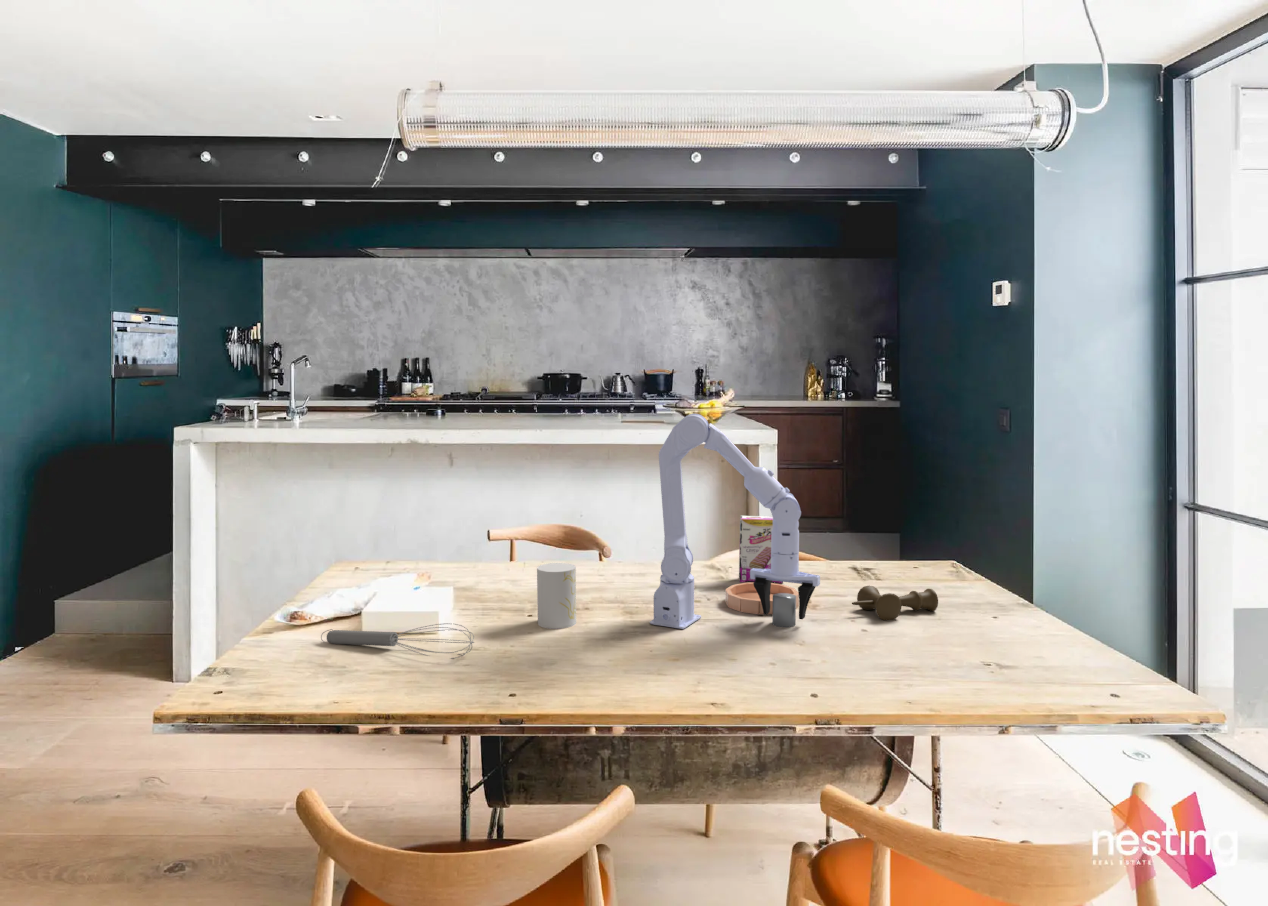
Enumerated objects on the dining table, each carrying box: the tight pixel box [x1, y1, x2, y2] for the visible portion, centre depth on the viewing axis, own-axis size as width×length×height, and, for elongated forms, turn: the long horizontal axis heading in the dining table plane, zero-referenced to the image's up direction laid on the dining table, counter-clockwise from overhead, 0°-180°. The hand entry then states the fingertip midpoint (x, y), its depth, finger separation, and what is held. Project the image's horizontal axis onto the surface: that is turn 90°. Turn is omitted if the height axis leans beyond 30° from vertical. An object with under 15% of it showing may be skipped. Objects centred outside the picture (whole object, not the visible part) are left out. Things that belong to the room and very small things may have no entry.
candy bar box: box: [738, 515, 784, 584], centre depth 209 cm, size 11×5×16 cm, turn 84°
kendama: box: [851, 585, 939, 621], centre depth 182 cm, size 6×10×20 cm
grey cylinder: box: [771, 593, 797, 628], centre depth 174 cm, size 5×5×6 cm
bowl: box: [724, 582, 799, 615], centre depth 189 cm, size 16×16×3 cm
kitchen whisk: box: [320, 622, 475, 660], centre depth 159 cm, size 6×34×6 cm, turn 72°
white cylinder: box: [536, 562, 577, 630], centre depth 175 cm, size 8×8×12 cm
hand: (784, 615), depth 174 cm, fingers open, 7 cm apart
